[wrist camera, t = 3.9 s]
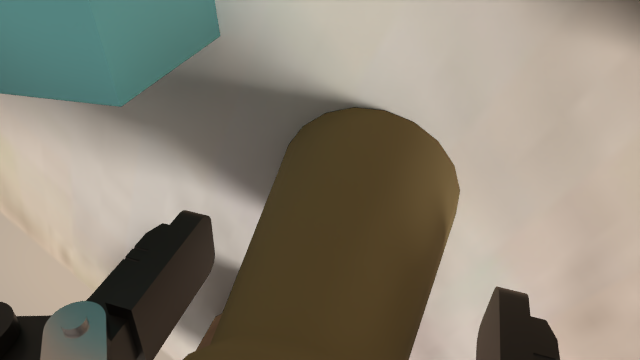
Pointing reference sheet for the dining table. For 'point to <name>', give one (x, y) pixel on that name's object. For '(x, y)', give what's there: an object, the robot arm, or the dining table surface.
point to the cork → (343, 245)
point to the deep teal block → (98, 46)
